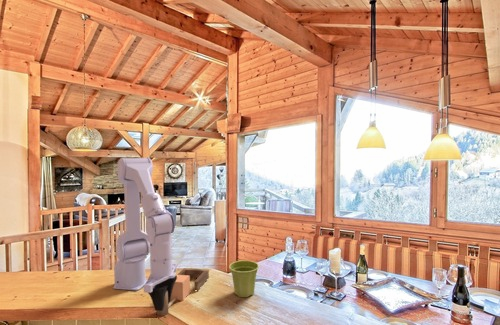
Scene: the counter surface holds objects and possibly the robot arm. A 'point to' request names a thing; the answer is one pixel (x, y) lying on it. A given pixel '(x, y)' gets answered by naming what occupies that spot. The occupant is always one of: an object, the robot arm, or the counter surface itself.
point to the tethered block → (176, 292)
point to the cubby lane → (196, 276)
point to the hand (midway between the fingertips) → (162, 306)
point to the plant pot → (244, 277)
